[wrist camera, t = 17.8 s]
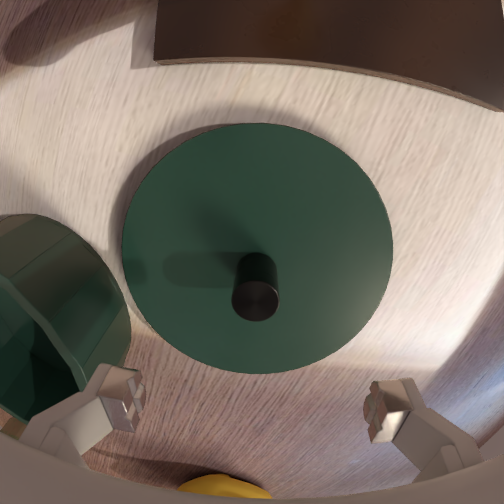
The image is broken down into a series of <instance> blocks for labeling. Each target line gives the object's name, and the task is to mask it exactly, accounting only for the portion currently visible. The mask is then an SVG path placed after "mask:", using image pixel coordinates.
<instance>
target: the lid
mask: <svg viewBox="0 0 504 504" xmlns="http://www.w3.org/2000/svg"><path fill="white" fill-rule="evenodd" d="M392 261H393V239H392V231H391V225H390V221H389V217H388V214H387V210H386V208H385V205H384V203H383V201H382V199H381V196H380V194H379V192H378V191H377V189H376V188H375V186H374V184H373V183H372V181H371V180H370V178H369V177H368V176H367V175H366V173H365V172H364V171H363V170H362V169H361V168H360V166H359V165H358V164H357V163H356V162H355V161H354V160H352V159H351V158H350V157H349V156H348V155H347V154H345V153H344V152H343V151H342V150H340V149H339V148H337V147H336V146H334V145H332V144H331V143H329V142H328V141H326V140H324V139H322V138H320V137H318V136H315V135H313V134H311V133H309V132H306V131H303V130H300V129H296V128H292V127H289V126H285V125H277V124H269V123H242V124H236V125H230V126H225V127H220V128H217V129H214V130H211V131H208V132H205V133H202V134H200V135H198V136H196V137H194V138H192V139H190V140H188V141H186V142H184V143H182V144H181V145H179V146H178V147H176V148H175V149H174V150H172V151H171V152H169V153H168V154H167V155H166V156H165V157H163V158H162V159H161V160H160V161H159V162H158V163H157V164H156V165H155V166H154V167H153V168H152V169H151V171H150V172H149V173H148V174H147V176H146V177H145V178H144V180H143V181H142V182H141V184H140V186H139V188H138V189H137V191H136V193H135V195H134V196H133V199H132V201H131V204H130V206H129V209H128V211H127V214H126V219H125V223H124V227H123V235H122V262H123V268H124V273H125V278H126V281H127V284H128V287H129V290H130V292H131V295H132V297H133V299H134V301H135V303H136V305H137V307H138V308H139V310H140V312H141V313H142V315H143V316H144V318H145V319H146V320H147V322H148V323H149V324H150V325H151V326H152V327H153V329H154V330H155V331H156V332H157V333H158V334H159V335H160V336H161V337H162V338H163V339H165V340H166V341H167V342H168V343H169V344H171V345H172V346H173V347H175V348H176V349H178V350H179V351H180V352H182V353H184V354H186V355H187V356H189V357H191V358H193V359H195V360H197V361H199V362H202V363H204V364H206V365H209V366H212V367H215V368H219V369H222V370H227V371H232V372H237V373H247V374H270V373H279V372H285V371H289V370H294V369H298V368H301V367H304V366H307V365H310V364H312V363H315V362H317V361H319V360H321V359H323V358H325V357H327V356H329V355H331V354H332V353H334V352H336V351H337V350H339V349H340V348H341V347H343V346H344V345H345V344H347V343H348V342H349V341H350V340H351V339H352V338H354V337H355V336H356V335H357V334H358V333H359V332H360V331H361V330H362V328H363V327H364V326H365V325H366V324H367V322H368V321H369V320H370V319H371V317H372V315H373V314H374V312H375V311H376V309H377V308H378V306H379V304H380V302H381V300H382V297H383V295H384V293H385V291H386V288H387V284H388V281H389V278H390V273H391V267H392Z"/></svg>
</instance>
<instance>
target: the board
mask: <svg viewBox="0 0 504 504" xmlns="http://www.w3.org/2000/svg"><path fill="white" fill-rule="evenodd" d="M153 60H154V61H155V62H157V63H159V64H161V65H168V64H182V63H203V62H255V63H276V64H290V65H301V66H311V67H320V68H328V69H335V70H342V71H349V72H355V73H361V74H366V75H371V76H376V77H381V78H386V79H391V80H395V81H400V82H404V83H408V84H412V85H416V86H420V87H423V88H427V89H431V90H434V91H438V92H441V93H444V94H447V95H451V96H454V97H457V98H460V99H463V100H466V101H469V102H472V103H474V104H477V105H480V106H483V107H485V108H488V109H490V110H493V111H495V112H504V16H503V9H502V3H501V0H159V2H158V11H157V20H156V31H155V43H154V57H153Z"/></svg>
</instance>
